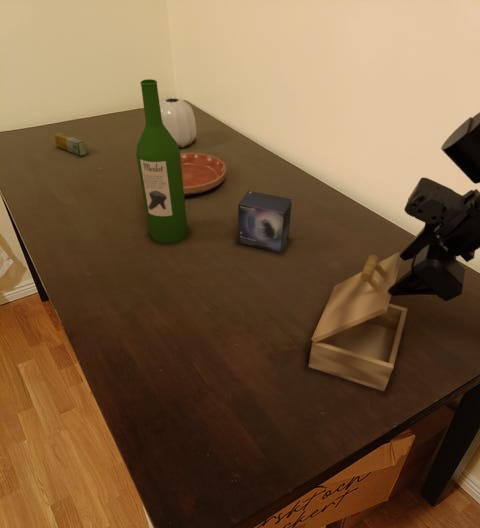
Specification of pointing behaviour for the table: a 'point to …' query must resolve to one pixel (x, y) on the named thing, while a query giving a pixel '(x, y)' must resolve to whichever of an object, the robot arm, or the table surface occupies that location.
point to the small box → (264, 221)
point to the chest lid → (359, 297)
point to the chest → (362, 349)
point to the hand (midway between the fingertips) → (396, 274)
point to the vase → (178, 120)
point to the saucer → (201, 172)
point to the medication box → (70, 144)
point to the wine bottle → (160, 173)
